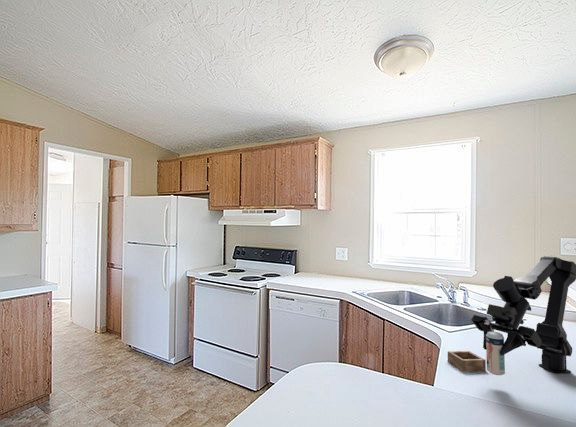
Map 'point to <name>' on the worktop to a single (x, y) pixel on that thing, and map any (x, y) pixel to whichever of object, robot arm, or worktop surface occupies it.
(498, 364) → the beer can
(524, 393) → the worktop surface
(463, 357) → the socket block
